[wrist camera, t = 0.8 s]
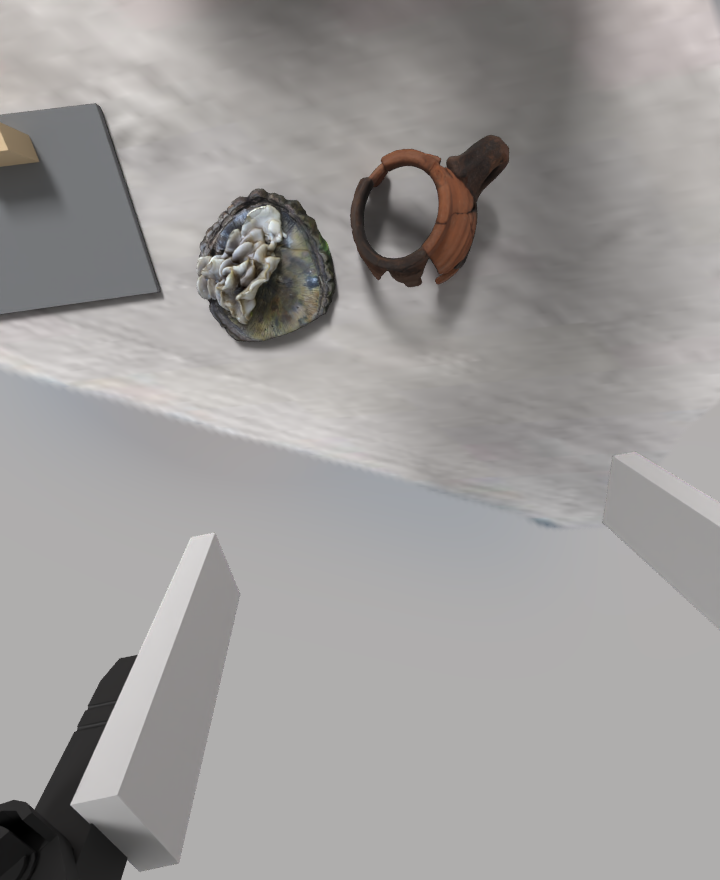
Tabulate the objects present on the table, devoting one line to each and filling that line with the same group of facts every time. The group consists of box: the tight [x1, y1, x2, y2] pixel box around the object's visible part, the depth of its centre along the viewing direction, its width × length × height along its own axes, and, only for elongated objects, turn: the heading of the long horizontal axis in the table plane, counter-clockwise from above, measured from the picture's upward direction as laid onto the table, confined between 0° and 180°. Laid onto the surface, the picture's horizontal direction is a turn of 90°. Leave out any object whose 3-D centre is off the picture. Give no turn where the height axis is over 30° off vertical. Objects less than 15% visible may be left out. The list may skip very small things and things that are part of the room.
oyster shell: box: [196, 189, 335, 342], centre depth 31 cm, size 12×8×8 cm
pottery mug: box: [350, 135, 509, 287], centre depth 29 cm, size 12×10×8 cm
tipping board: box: [0, 103, 161, 314], centre depth 27 cm, size 12×14×4 cm
